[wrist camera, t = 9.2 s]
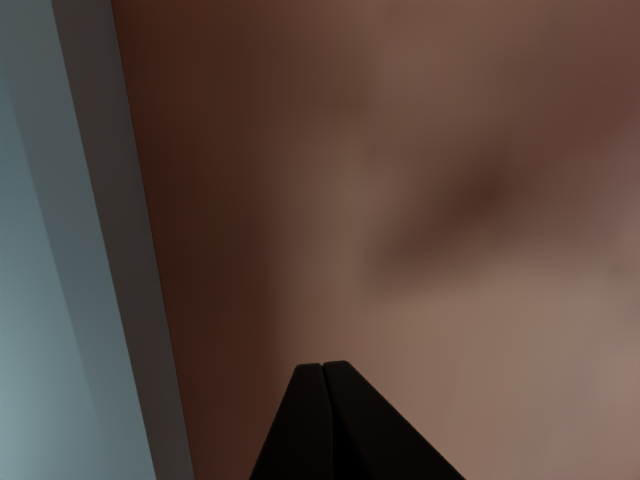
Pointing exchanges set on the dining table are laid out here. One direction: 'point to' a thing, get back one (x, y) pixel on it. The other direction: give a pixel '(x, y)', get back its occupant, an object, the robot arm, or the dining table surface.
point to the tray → (78, 262)
